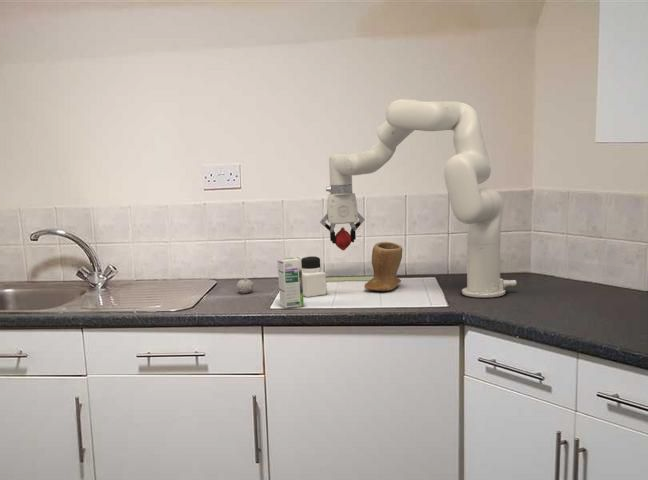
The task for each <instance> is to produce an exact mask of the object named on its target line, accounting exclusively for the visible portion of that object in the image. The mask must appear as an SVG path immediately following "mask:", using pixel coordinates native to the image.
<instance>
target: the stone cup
mask: <svg viewBox="0 0 648 480" xmlns="http://www.w3.org/2000/svg"><path fill="white" fill-rule="evenodd" d="M402 258H403V247H402V246H401V244H398V243H395V242H390V241H380V242H377V243H375V244H374V245H373V247H372V250H371V266H372V270H373V271H372V272H373V276H374V278H373V279H371V280H368V281H367V282H366V283H365V284H364V288H365V289H366V290H369V291H377V292H378V291H379V292H380V291H381V292H387V291H392V290H393V289H395V288H397V286H398V285H399V284H400V283H401V282H402V279H400V278H399V277H397V274H398V271H399V268H400V265H401V261H402V260H403V259H402Z"/></svg>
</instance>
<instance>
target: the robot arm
mask: <svg viewBox="0 0 648 480" xmlns="http://www.w3.org/2000/svg"><path fill="white" fill-rule="evenodd" d="M415 131H421V132H442V131H453V137H452V138H453V139H452V141H453V147H454V150H455V155H453V156H451V157H450V158H449V159H448V160H447V161H446V163H445V167H444V170H443V171H444V173H443V174H444V175H443V176H444V181H445V182H444V183H445V186H446V190H447V191H446V192H447V193H448V198H449V203H450V206H451V210H452V213H453V215H454V217H455V218H456V220H457V221H459V222H460V223H462V224H465V225H468V226H467V232H466V234H467V235H466V287H464V288H462V289H461V295H463V296H466V297H471V298H480V299H481V298H484V299H485V298H498V297H502V296H505V294H506V288H507V287H509V288H510V287H517V280H516V279H510V280H509V279H504V278H503V277H502V278H501V235H502V234H501V233H502V232H501V231H502V221H503V214H504V200H503V198H502V195H501V194H500V193H499V192H498V191H497V190H496V189H493V188H490V187H479V185H480V184H484V183H486V181H488V179H489V178H490V176H491V173H492V169H491V168H492V167H491V163H490V160H489V155H488V151H487V147H486V143H485V140H484V136H483V132H482V126H481V121H480V118H479V115H478V113H477V111H476V110H475V109H474V107H473V106H471V105H469V104H468V103H466V102H461V101H454V100H453V101H452V100H445V101H444V100H443V101H423V100H422V101H421V100H419V99H415V98H399V99H395V100H393V101H392V102H391V103H389V104H388V106H387V108H386V111H385V120H384V121H383V122H382V123H381V124H380V125H379V126H378V127H377V130H376V134H377V137H378V139H379V140H378V141H377V142H376V143H375V144H374V145H373V146H372V147H371V148H370V149H369V150H365V151H364V150H363V151H354V152H349V153H348V152H340V153H339V152H337V153H331V154H330V155H329V157H328V166H329V167H328V168H329V186H328V187H325V191H326V192H328V193H329V194H328V196H327V203H326V204H327V206H326V213H325V215H323V217H322V218H321V220H319V223H320V224H321V225H322V226H324V228H325V229H326V230H328V231H329V240H330V242H331V243H332V244H333V245H334V244H335V236H336V231H335V228H336V225H343V224H349V226H350V232H349V234H350V236H351V243H355V240H356V239H357V237H356V231H357V229H358V228H359V227H360V226H361V225H362V224H363V223H364V222H365V217H363V215H361V213H359V211H358V204H357V203H358V202H357V197H356V193H355V192H353V176H361V175H369V174H373V173H376V172H377V171H378V170H380V169H382V167H383V166H384V165H386V164H387V163H388V162H389V161H390V160H391V159H392V158H393V156H394V154H395V152H396V150H397V147H398V146H399V145H400V144H401V143H402V142H403V141H404V140H405V139H406V138H408V137H409V136H410V135H411V134H412V133H413V132H415ZM326 221H327V222H328V223H327V222H326ZM329 224H330V225H329ZM335 245H336V244H335Z"/></svg>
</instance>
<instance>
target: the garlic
mask: <svg viewBox="0 0 648 480" xmlns="http://www.w3.org/2000/svg"><path fill="white" fill-rule="evenodd" d="M236 289H237V291H238V292H239V293H241V294H243V295H245V294H249V293H251V292H252V290H253V289H254V282H253V281H252V280H250V279H249V278H247V277H243V279H240V280H239V281H238V282H237V283H236Z"/></svg>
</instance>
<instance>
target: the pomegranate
mask: <svg viewBox="0 0 648 480" xmlns="http://www.w3.org/2000/svg"><path fill="white" fill-rule="evenodd" d="M351 244H352V242H351V236H350V232H349V231H347V230H346V229H345V227H344V226H341V228H340V230H339V231H338V232H336V233H335V246H336V247H337V248H338V249H339V250H341V251H345V250H347V248H348V247H349V246H351Z"/></svg>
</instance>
